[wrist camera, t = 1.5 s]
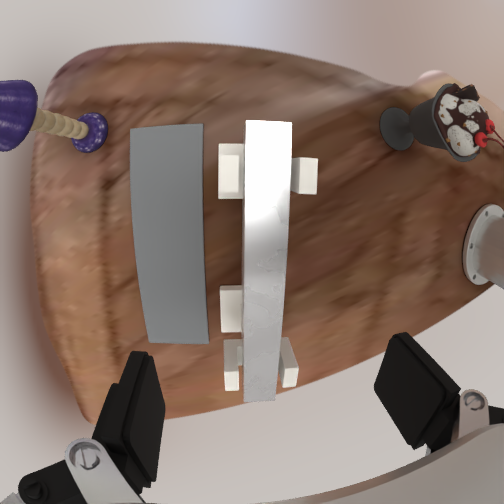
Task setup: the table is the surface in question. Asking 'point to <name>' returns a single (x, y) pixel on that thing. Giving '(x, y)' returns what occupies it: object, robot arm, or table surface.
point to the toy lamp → (43, 120)
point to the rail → (264, 252)
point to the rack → (231, 295)
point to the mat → (170, 231)
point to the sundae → (442, 123)
